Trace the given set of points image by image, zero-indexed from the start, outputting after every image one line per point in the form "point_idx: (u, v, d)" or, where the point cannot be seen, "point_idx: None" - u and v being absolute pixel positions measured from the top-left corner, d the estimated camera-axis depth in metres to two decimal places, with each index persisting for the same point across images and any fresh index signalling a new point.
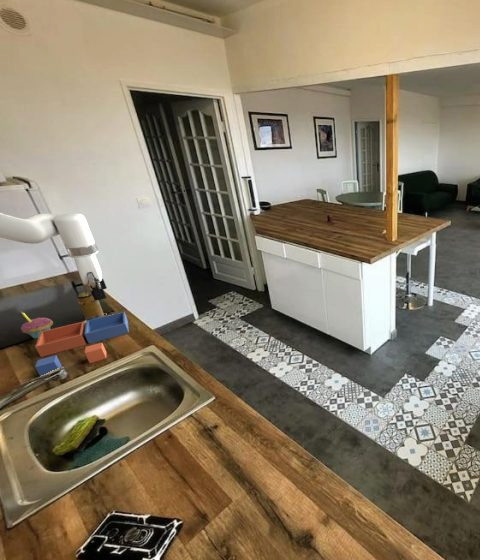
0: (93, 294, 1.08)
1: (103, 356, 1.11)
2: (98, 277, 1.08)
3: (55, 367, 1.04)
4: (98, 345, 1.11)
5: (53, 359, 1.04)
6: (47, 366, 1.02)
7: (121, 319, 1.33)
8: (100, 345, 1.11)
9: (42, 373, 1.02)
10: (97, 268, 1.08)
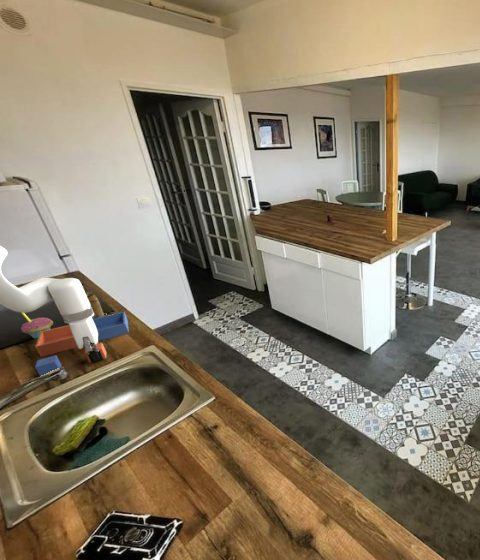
0: (90, 357, 1.08)
1: (103, 356, 1.11)
2: (94, 341, 1.06)
3: (55, 367, 1.04)
4: (98, 345, 1.11)
5: (53, 359, 1.04)
6: (47, 366, 1.02)
7: (121, 319, 1.33)
8: (100, 345, 1.11)
9: (42, 373, 1.02)
10: (93, 331, 1.06)
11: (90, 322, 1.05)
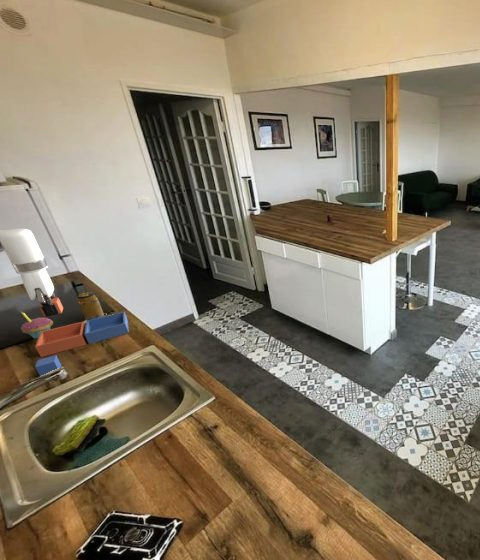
0: (44, 310, 1.09)
1: (58, 310, 1.11)
2: (47, 293, 1.06)
3: (55, 367, 1.04)
4: (54, 299, 1.12)
5: (53, 359, 1.04)
6: (47, 366, 1.02)
7: (121, 319, 1.33)
8: (56, 299, 1.12)
9: (42, 373, 1.02)
10: (46, 284, 1.06)
11: (43, 274, 1.06)
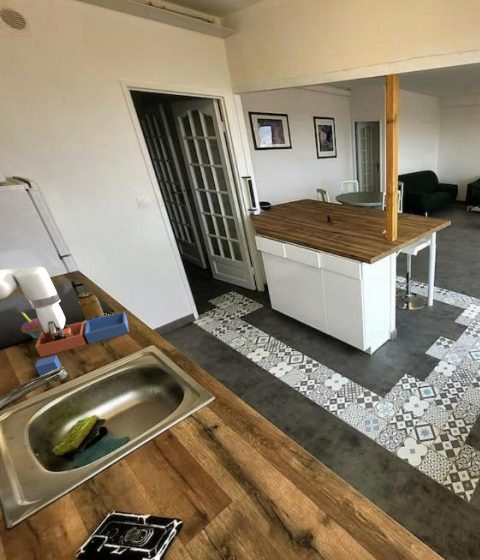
0: None
1: None
2: (59, 325, 1.13)
3: (55, 367, 1.04)
4: (66, 330, 1.19)
5: (53, 359, 1.04)
6: (47, 366, 1.02)
7: (121, 319, 1.33)
8: (67, 330, 1.19)
9: (42, 373, 1.02)
10: (58, 317, 1.13)
11: (56, 308, 1.13)
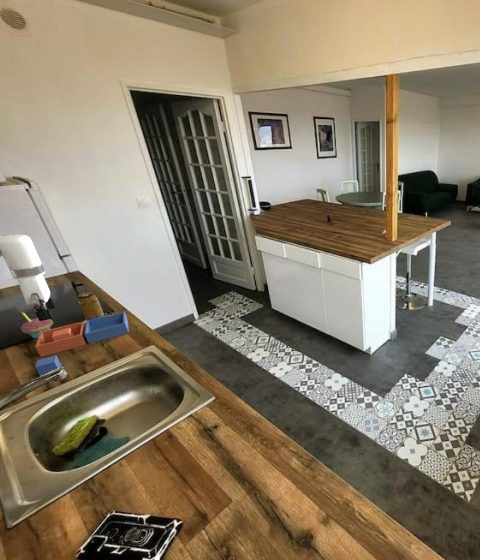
0: (38, 315, 1.08)
1: None
2: (43, 298, 1.08)
3: (55, 367, 1.04)
4: (66, 330, 1.19)
5: (53, 359, 1.04)
6: (47, 366, 1.02)
7: (121, 319, 1.33)
8: (67, 330, 1.19)
9: (42, 373, 1.02)
10: (43, 289, 1.08)
11: (40, 280, 1.07)
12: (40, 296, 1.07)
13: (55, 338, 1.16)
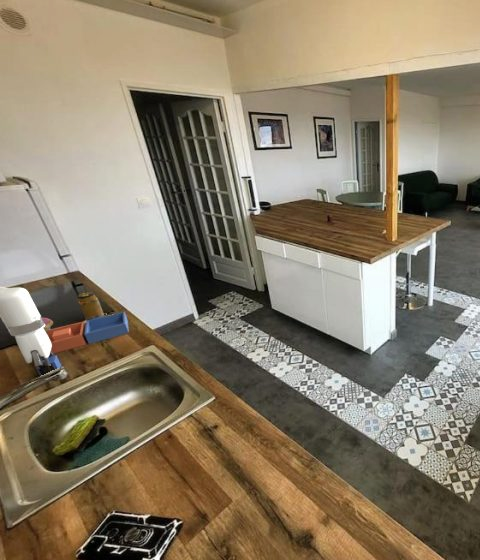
0: (41, 371, 1.01)
1: None
2: (44, 354, 0.99)
3: (55, 367, 1.04)
4: (66, 330, 1.19)
5: (53, 359, 1.04)
6: None
7: (121, 319, 1.33)
8: (67, 330, 1.19)
9: None
10: (43, 344, 0.99)
11: (40, 334, 0.99)
12: (40, 353, 0.98)
13: (55, 338, 1.16)
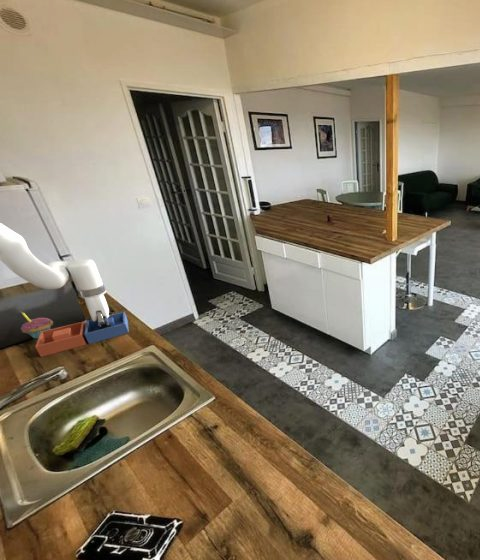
0: None
1: None
2: (106, 314, 1.21)
3: None
4: (66, 330, 1.19)
5: (111, 320, 1.26)
6: None
7: (121, 319, 1.33)
8: (67, 330, 1.19)
9: None
10: (105, 306, 1.21)
11: (103, 298, 1.20)
12: (103, 313, 1.20)
13: (55, 338, 1.16)
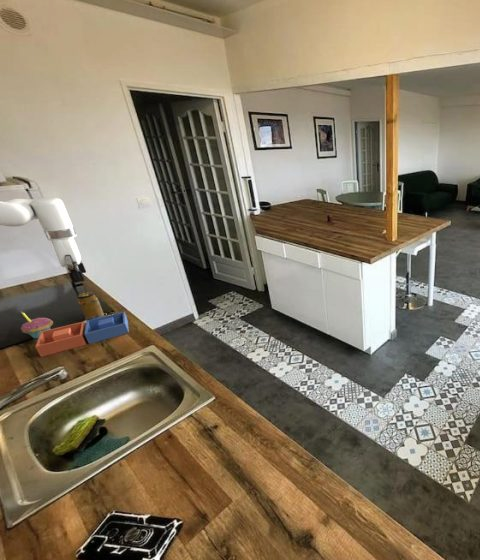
0: (71, 276, 1.12)
1: None
2: (76, 260, 1.12)
3: None
4: (66, 330, 1.19)
5: (111, 320, 1.26)
6: (107, 325, 1.24)
7: (121, 319, 1.33)
8: (67, 330, 1.19)
9: None
10: (75, 251, 1.12)
11: (72, 242, 1.11)
12: (73, 258, 1.11)
13: (55, 338, 1.16)
